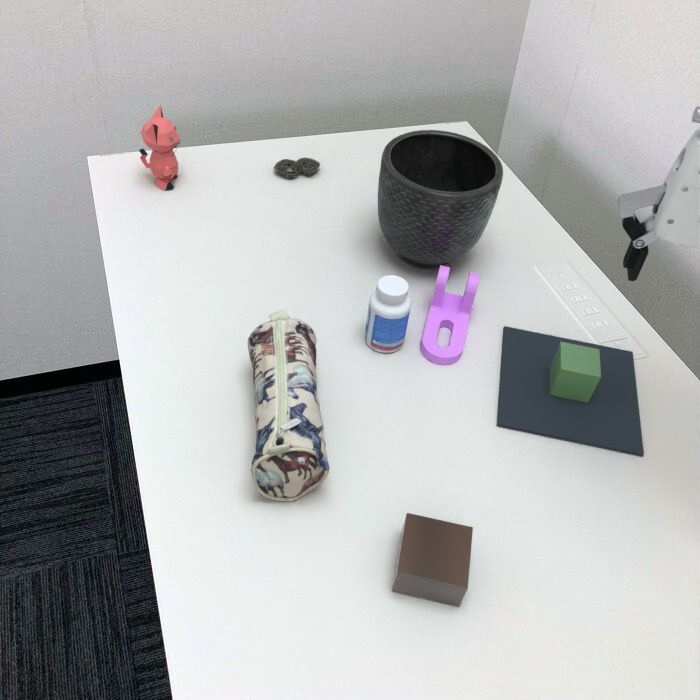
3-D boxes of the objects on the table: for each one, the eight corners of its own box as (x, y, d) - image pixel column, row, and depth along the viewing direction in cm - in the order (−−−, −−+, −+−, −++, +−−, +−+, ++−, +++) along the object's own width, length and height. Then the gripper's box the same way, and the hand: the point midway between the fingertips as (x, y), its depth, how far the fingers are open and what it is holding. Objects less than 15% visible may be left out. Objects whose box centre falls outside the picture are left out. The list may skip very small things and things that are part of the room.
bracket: (433, 297, 107) (441, 259, 102) (470, 305, 106) (481, 268, 101) (417, 359, 98) (425, 321, 93) (458, 369, 97) (469, 331, 92)
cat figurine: (181, 195, 118) (175, 127, 110) (138, 191, 118) (128, 123, 109) (188, 171, 123) (183, 104, 115) (147, 167, 123) (138, 100, 114)
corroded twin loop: (323, 176, 126) (324, 171, 125) (278, 181, 123) (278, 175, 123) (315, 160, 129) (315, 155, 128) (270, 165, 127) (270, 159, 126)
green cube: (586, 375, 98) (599, 349, 94) (588, 403, 95) (601, 377, 91) (549, 367, 98) (560, 341, 95) (549, 395, 95) (560, 369, 91)
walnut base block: (465, 546, 79) (473, 526, 76) (459, 607, 74) (467, 589, 71) (401, 532, 80) (406, 512, 77) (391, 591, 75) (396, 573, 72)
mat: (631, 354, 102) (632, 351, 102) (642, 456, 90) (644, 454, 90) (503, 328, 104) (504, 325, 103) (496, 426, 91) (497, 423, 91)
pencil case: (328, 503, 81) (335, 450, 74) (250, 506, 80) (250, 453, 73) (313, 358, 96) (317, 303, 89) (247, 359, 95) (246, 304, 88)
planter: (466, 300, 107) (491, 209, 96) (354, 268, 110) (366, 175, 98) (488, 234, 119) (513, 146, 107) (387, 207, 121) (401, 118, 110)
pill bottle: (411, 345, 100) (423, 291, 93) (379, 359, 97) (389, 305, 90) (388, 320, 102) (397, 266, 95) (356, 333, 100) (363, 279, 93)
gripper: (656, 133, 62) (594, 289, 74) (870, 167, 60) (772, 321, 72) (648, 94, 67) (592, 245, 79) (846, 124, 66) (757, 274, 78)
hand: (678, 281), depth 76 cm, fingers open, 9 cm apart
